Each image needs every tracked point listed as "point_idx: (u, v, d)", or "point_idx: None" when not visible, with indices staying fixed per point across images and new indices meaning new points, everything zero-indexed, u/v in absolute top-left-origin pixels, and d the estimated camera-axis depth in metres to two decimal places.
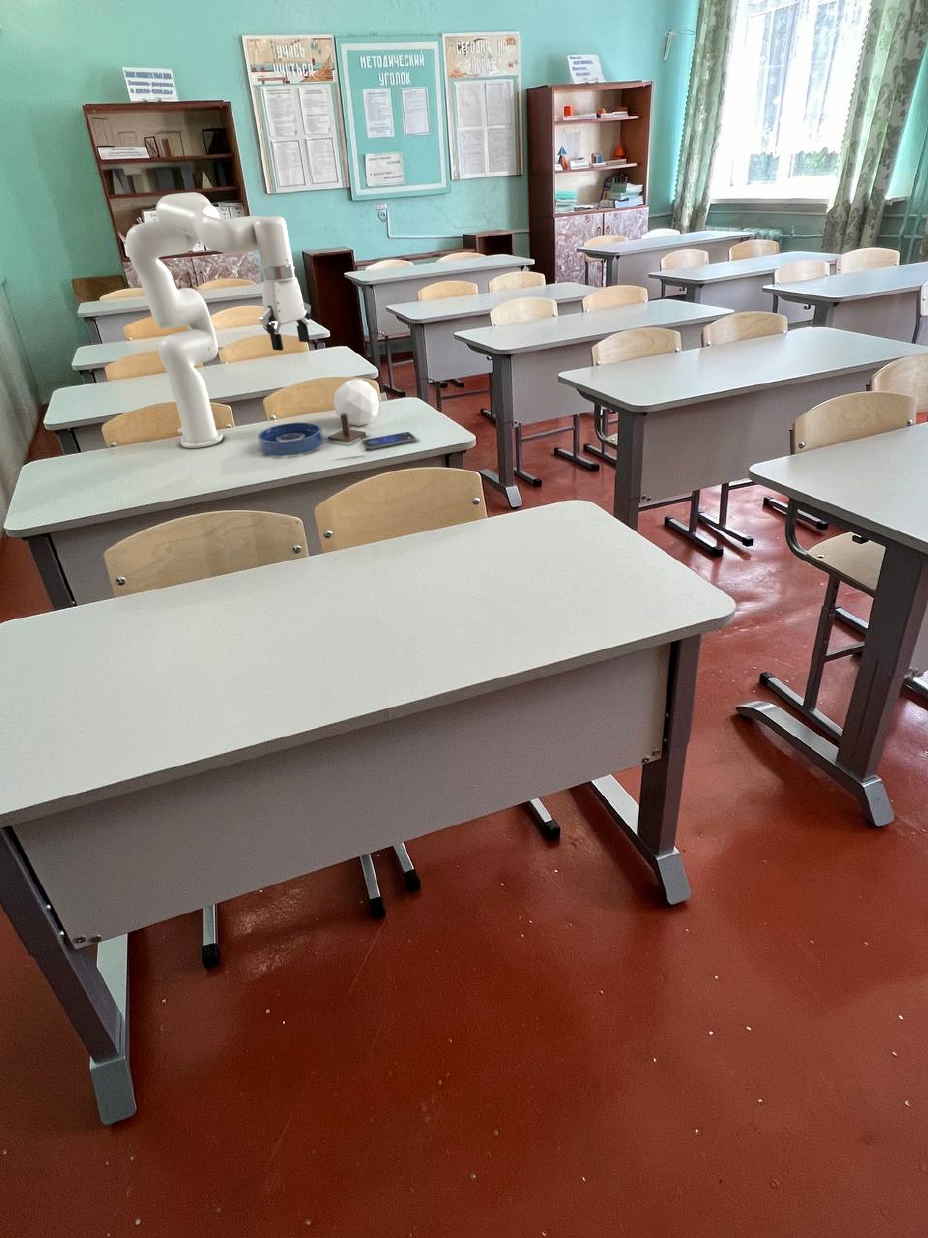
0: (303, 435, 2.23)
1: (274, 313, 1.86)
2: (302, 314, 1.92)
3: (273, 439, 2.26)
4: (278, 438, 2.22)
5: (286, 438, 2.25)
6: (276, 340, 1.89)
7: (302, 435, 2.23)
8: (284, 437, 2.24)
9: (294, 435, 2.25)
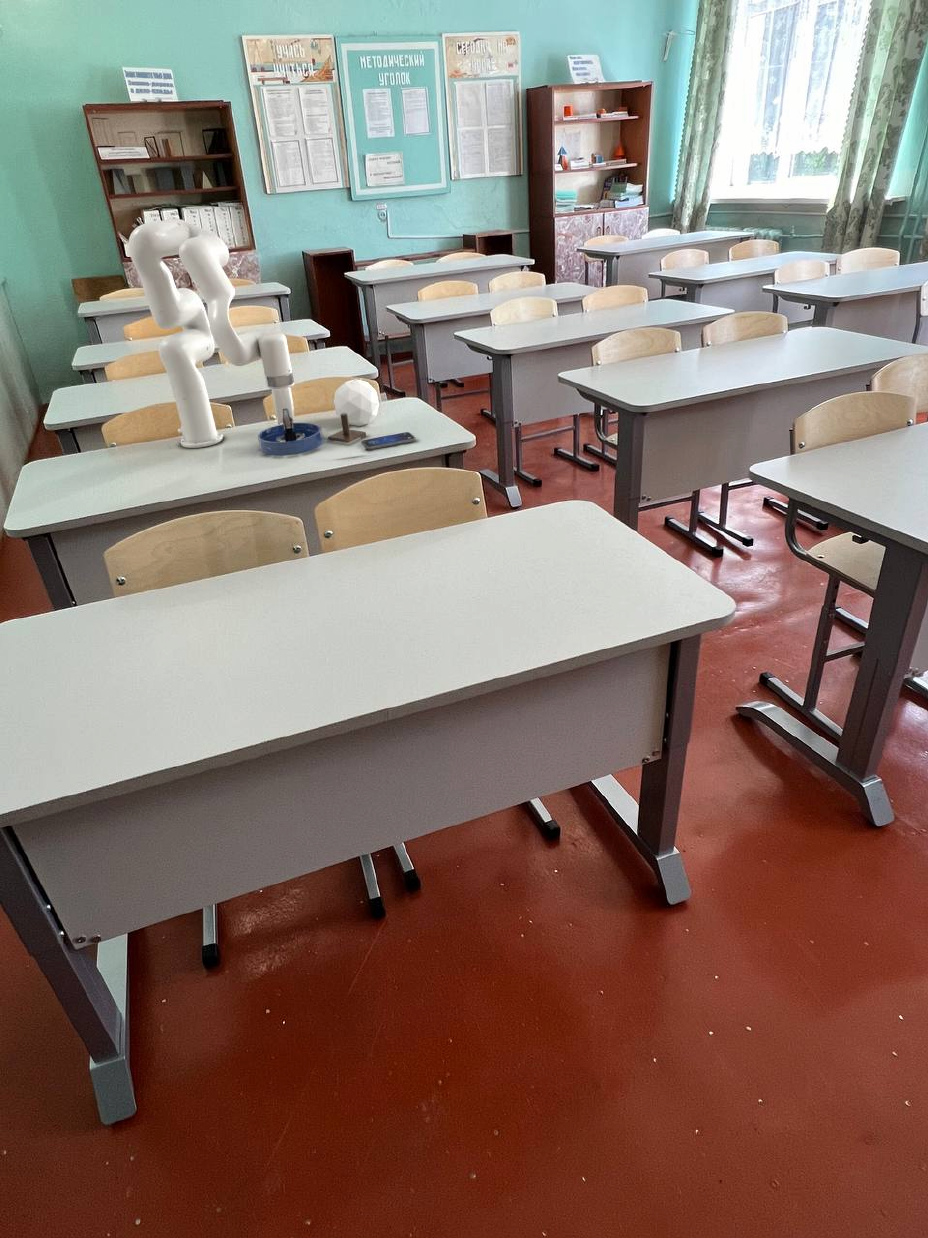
0: (303, 435, 2.23)
1: (290, 414, 2.11)
2: None
3: (273, 439, 2.26)
4: (278, 438, 2.22)
5: None
6: (293, 437, 2.18)
7: (302, 436, 2.23)
8: (284, 437, 2.24)
9: None
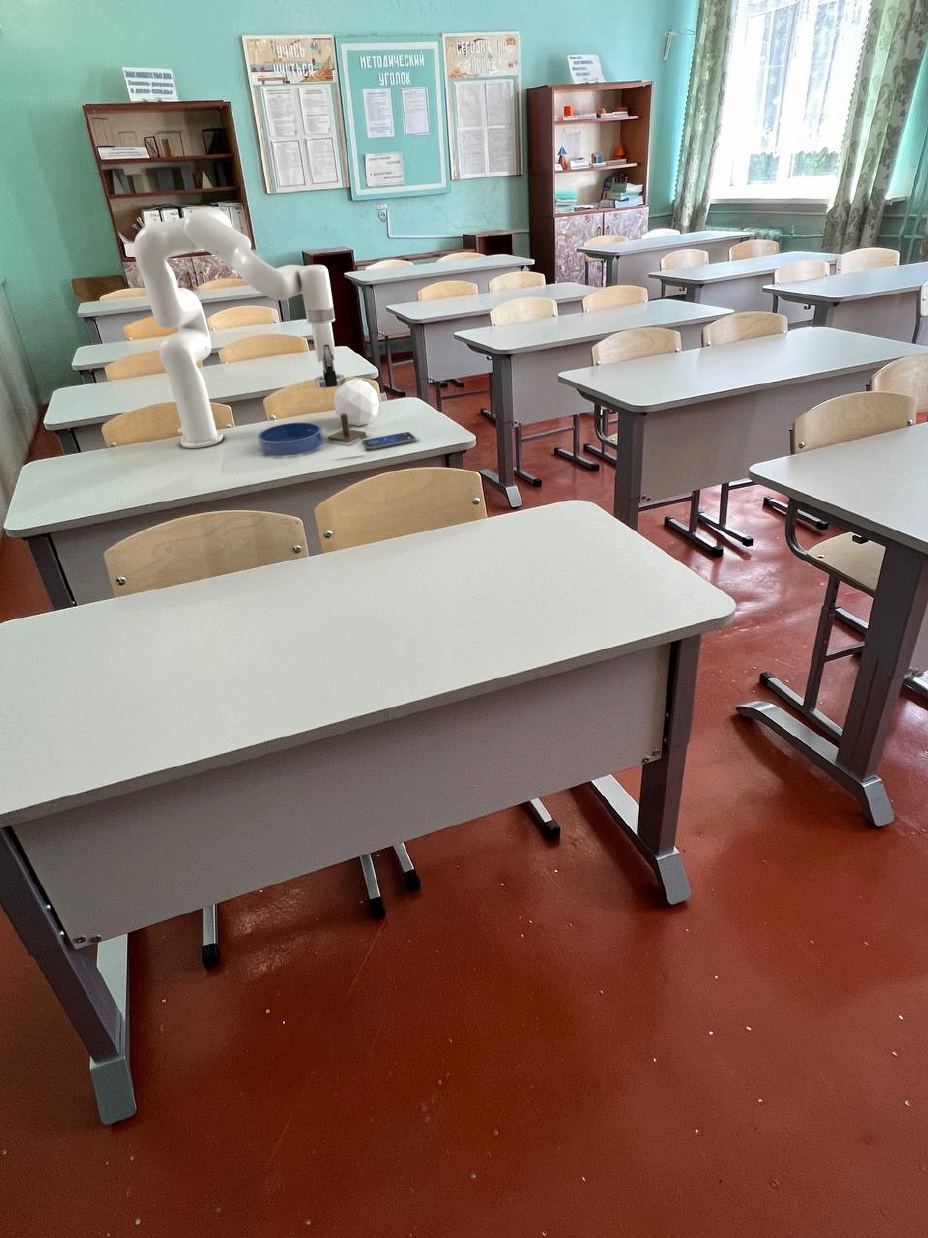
0: (342, 376, 2.16)
1: (331, 351, 2.04)
2: None
3: (273, 439, 2.26)
4: (317, 379, 2.15)
5: (324, 380, 2.18)
6: (333, 377, 2.10)
7: (341, 376, 2.15)
8: (322, 379, 2.17)
9: None
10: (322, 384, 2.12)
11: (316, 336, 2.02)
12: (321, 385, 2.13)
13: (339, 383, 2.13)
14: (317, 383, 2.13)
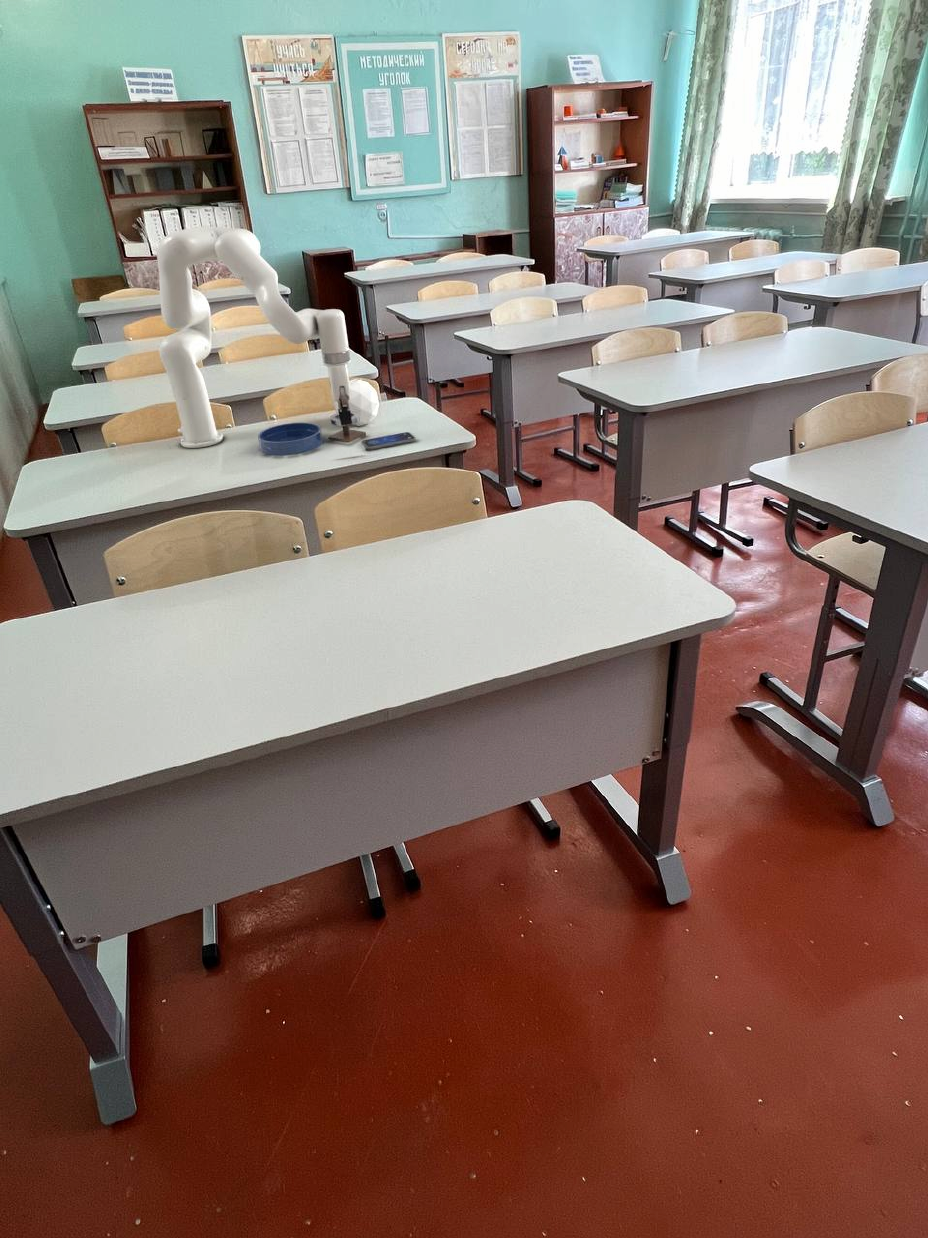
0: (357, 414, 2.22)
1: (347, 391, 2.10)
2: None
3: (273, 439, 2.26)
4: (332, 417, 2.21)
5: None
6: (348, 416, 2.16)
7: (356, 414, 2.21)
8: (337, 416, 2.23)
9: None
10: (337, 422, 2.18)
11: (332, 378, 2.08)
12: (336, 423, 2.19)
13: (354, 421, 2.19)
14: (332, 421, 2.19)
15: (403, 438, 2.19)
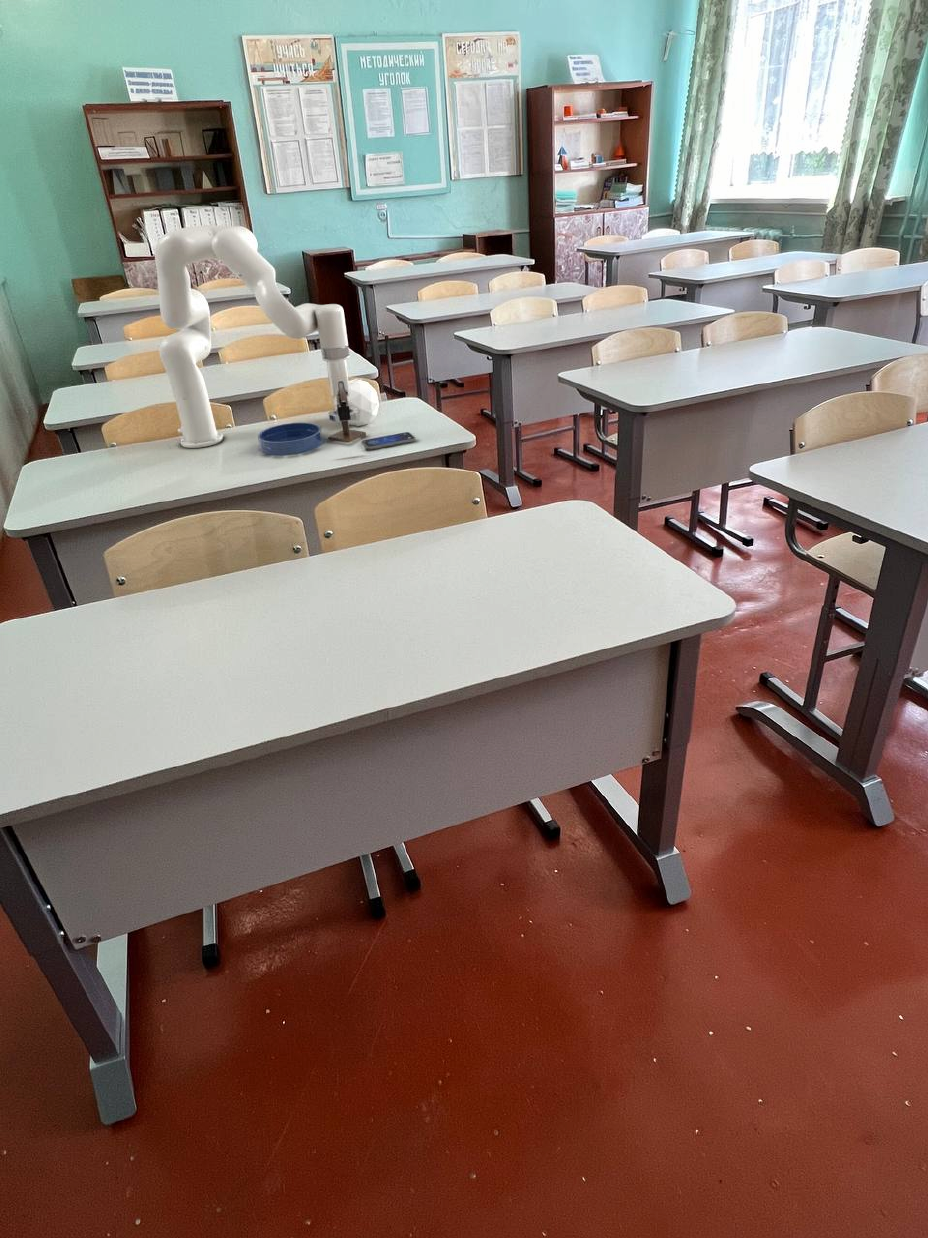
0: (355, 410, 2.21)
1: (346, 387, 2.09)
2: None
3: (273, 439, 2.26)
4: (330, 413, 2.20)
5: None
6: (346, 411, 2.16)
7: (355, 410, 2.21)
8: (336, 412, 2.22)
9: None
10: (336, 418, 2.18)
11: (331, 373, 2.07)
12: (335, 419, 2.18)
13: (352, 417, 2.19)
14: (331, 417, 2.19)
15: (403, 438, 2.19)
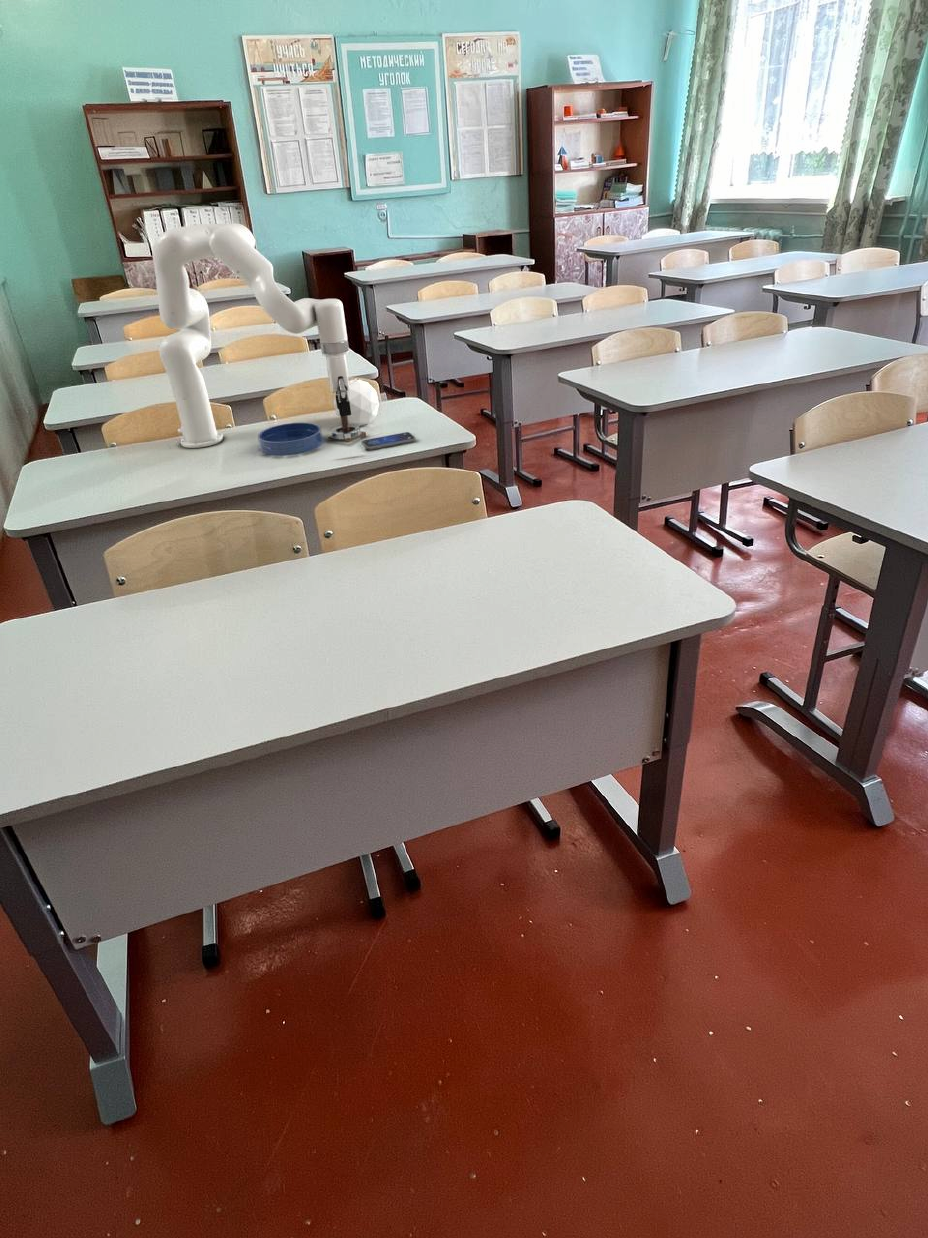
0: (358, 428, 2.24)
1: (345, 382, 2.09)
2: None
3: (273, 439, 2.26)
4: (333, 431, 2.23)
5: (340, 431, 2.25)
6: (347, 407, 2.12)
7: (357, 428, 2.23)
8: (338, 430, 2.25)
9: None
10: (339, 436, 2.20)
11: (331, 368, 2.06)
12: (338, 437, 2.21)
13: (355, 435, 2.21)
14: (334, 435, 2.21)
15: (403, 438, 2.19)
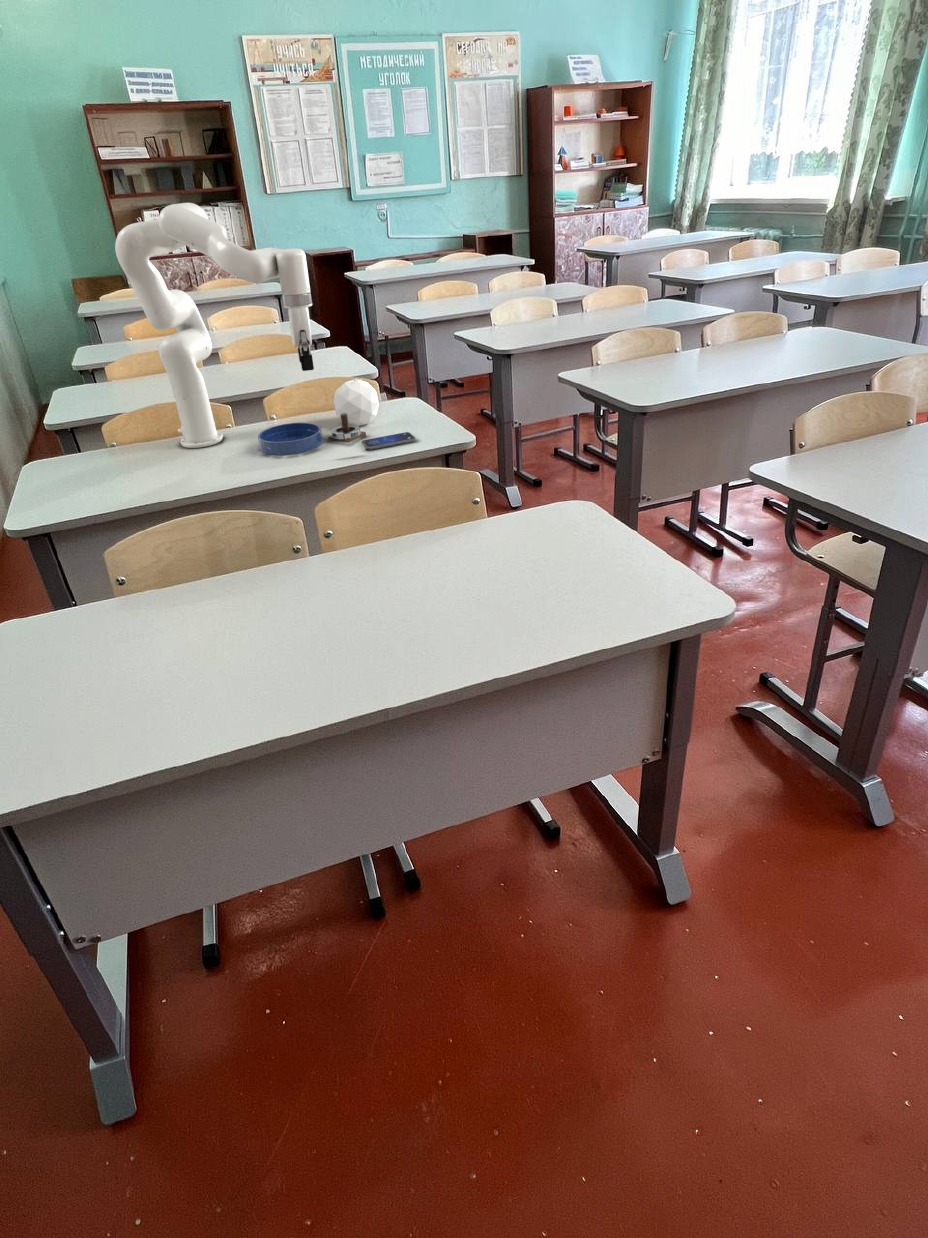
0: (358, 428, 2.24)
1: (307, 336, 2.02)
2: None
3: (273, 439, 2.26)
4: (333, 431, 2.23)
5: (340, 431, 2.25)
6: (309, 361, 2.05)
7: (357, 428, 2.23)
8: (338, 430, 2.25)
9: None
10: (339, 436, 2.20)
11: (292, 321, 2.00)
12: (338, 437, 2.21)
13: (355, 435, 2.21)
14: (334, 435, 2.21)
15: (403, 438, 2.19)
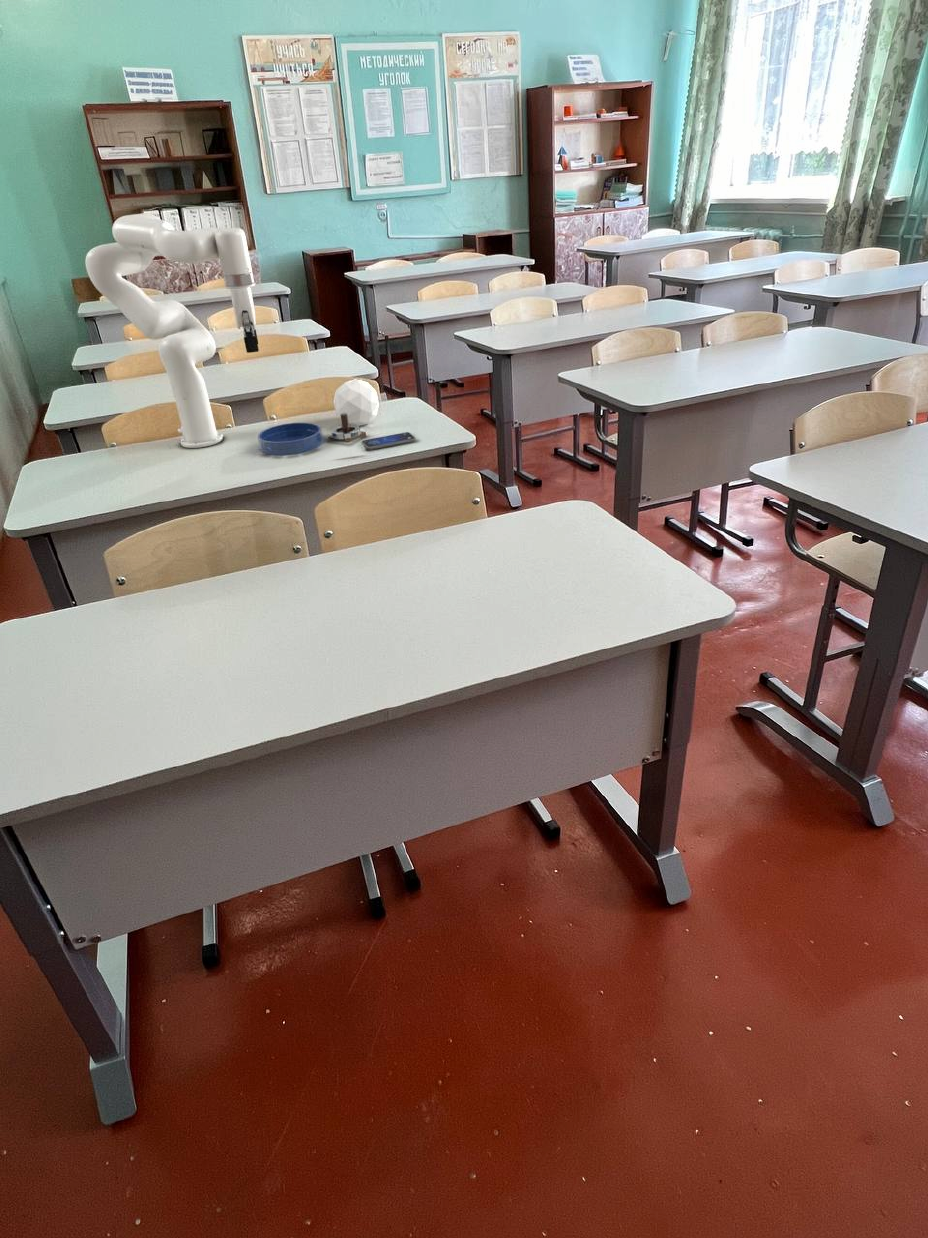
0: (358, 428, 2.24)
1: (250, 317, 1.99)
2: None
3: (273, 439, 2.26)
4: (333, 431, 2.23)
5: (340, 431, 2.25)
6: (253, 342, 2.02)
7: (357, 428, 2.23)
8: (338, 430, 2.25)
9: None
10: (339, 436, 2.20)
11: (234, 301, 1.97)
12: (338, 437, 2.21)
13: (355, 435, 2.21)
14: (334, 435, 2.21)
15: (403, 438, 2.19)
